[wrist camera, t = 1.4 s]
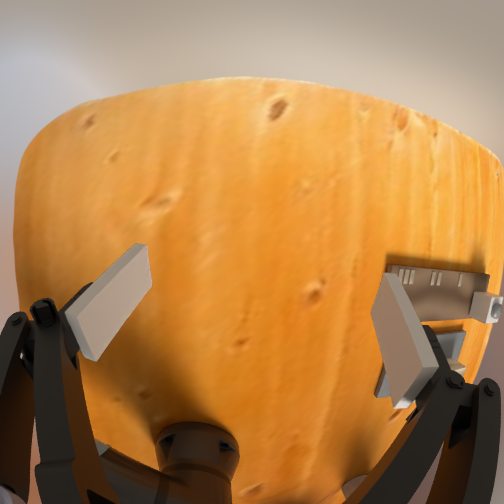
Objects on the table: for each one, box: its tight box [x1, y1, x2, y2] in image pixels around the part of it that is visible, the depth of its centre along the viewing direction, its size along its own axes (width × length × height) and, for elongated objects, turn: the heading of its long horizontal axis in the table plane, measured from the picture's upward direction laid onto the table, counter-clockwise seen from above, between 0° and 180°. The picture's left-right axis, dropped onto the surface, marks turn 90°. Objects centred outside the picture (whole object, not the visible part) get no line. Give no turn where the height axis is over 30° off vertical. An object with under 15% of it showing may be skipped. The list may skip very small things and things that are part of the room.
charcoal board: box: [374, 330, 466, 398], centre depth 42 cm, size 12×20×1 cm, turn 84°
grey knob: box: [469, 292, 503, 324], centre depth 37 cm, size 5×5×6 cm
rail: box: [386, 264, 490, 322], centre depth 40 cm, size 9×28×2 cm, turn 84°
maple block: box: [447, 358, 466, 377], centre depth 39 cm, size 5×5×5 cm
